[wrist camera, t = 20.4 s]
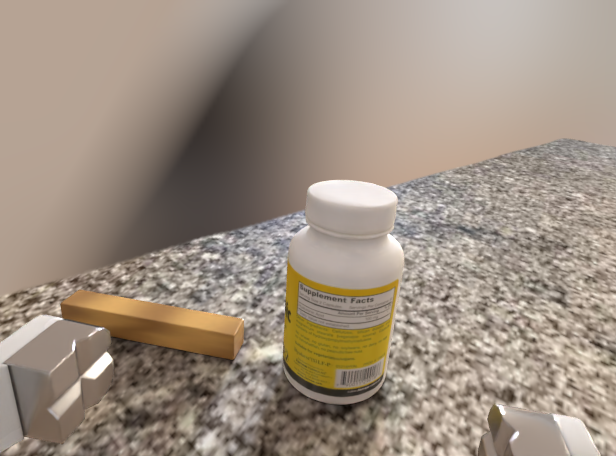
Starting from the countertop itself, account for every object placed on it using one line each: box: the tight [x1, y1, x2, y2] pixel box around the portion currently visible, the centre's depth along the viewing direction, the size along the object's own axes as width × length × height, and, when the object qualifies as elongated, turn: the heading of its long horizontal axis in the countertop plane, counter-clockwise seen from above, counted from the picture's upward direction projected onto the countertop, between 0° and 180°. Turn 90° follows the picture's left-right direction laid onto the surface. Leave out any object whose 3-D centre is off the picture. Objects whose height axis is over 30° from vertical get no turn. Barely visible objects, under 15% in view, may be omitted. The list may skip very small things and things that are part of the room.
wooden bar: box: [60, 290, 244, 360], centre depth 24 cm, size 10×2×2 cm, turn 79°
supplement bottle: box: [283, 180, 404, 405], centre depth 21 cm, size 5×5×10 cm
